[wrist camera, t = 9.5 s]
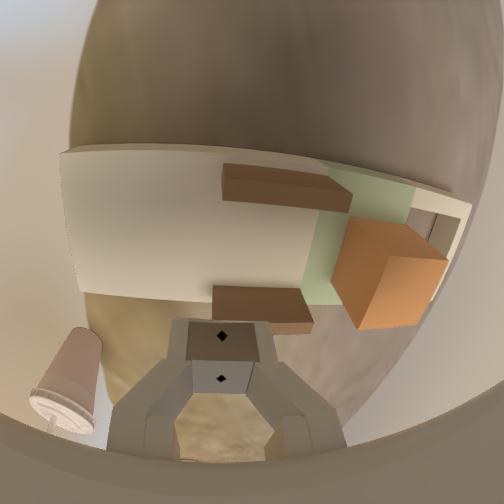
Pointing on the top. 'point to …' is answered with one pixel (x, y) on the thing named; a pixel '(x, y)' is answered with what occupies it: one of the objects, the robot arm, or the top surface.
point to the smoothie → (70, 384)
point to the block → (385, 274)
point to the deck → (230, 225)
